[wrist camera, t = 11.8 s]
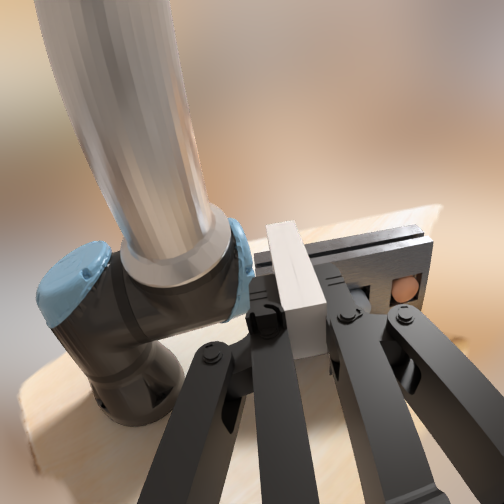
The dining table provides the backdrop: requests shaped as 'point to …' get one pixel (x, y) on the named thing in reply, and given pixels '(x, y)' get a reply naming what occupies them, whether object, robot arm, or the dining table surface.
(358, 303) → the grey dome button
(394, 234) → the button panel
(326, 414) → the dining table surface
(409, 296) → the terracotta button
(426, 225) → the dining table surface
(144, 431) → the dining table surface
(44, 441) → the dining table surface
